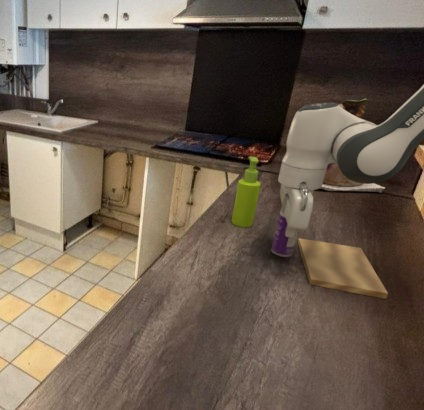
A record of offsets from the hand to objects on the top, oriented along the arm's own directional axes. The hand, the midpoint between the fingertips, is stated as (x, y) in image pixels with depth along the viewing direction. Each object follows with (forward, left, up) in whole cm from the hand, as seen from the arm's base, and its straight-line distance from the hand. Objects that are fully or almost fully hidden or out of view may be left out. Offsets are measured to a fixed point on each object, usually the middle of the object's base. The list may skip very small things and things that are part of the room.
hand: (287, 230), depth 87 cm
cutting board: (-12, 0, -8) cm, 14 cm away
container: (0, 0, -6) cm, 6 cm away
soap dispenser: (+9, -18, -8) cm, 22 cm away
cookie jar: (-24, -70, -8) cm, 74 cm away
